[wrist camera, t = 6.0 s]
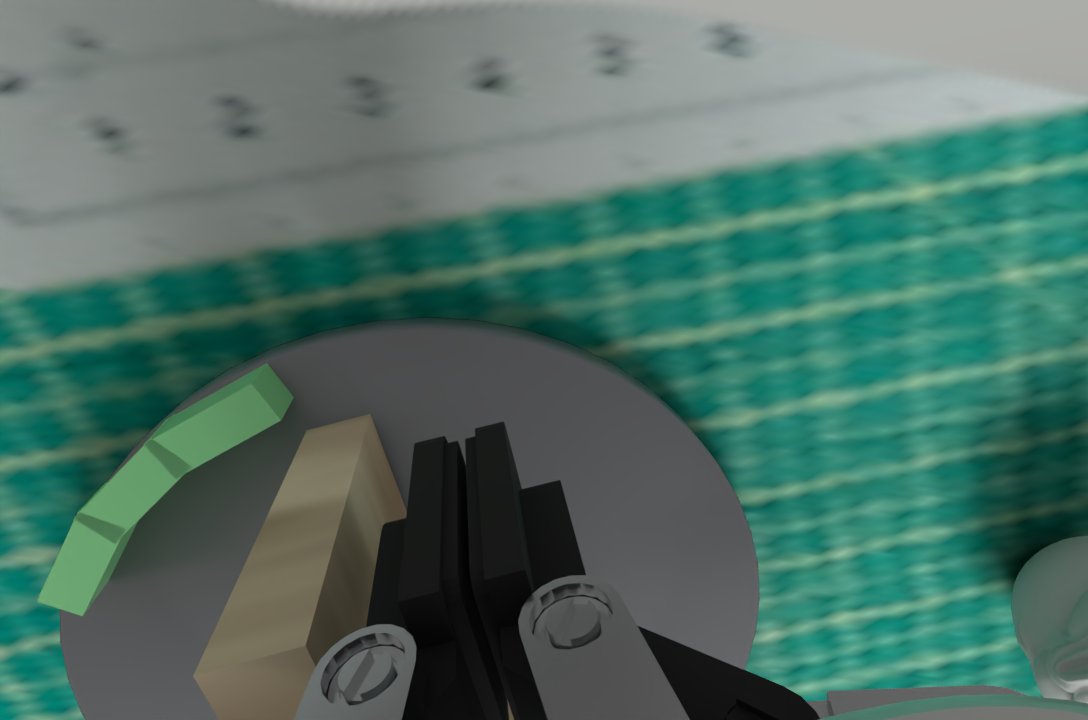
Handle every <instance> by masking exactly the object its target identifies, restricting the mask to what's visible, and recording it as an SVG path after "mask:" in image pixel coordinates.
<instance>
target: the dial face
mask: <svg viewBox="0 0 1088 720" xmlns="http://www.w3.org/2000/svg"><path fill="white" fill-rule="evenodd" d="M367 414H371V417H372V419H373V422H374V425H375V428H376V430H377V433H378V436H379V438H380V441H381V444H382V446H383V449H384V452H385V454H386V457H387V460H388V463H389V465H390V468H391V471H392V473H393V476H394V479H395V481H396V484H397V487H398V489H399V492H400V495H401V498H402V500H403V503H404V506H405V508H406V511H407V505H408V496H409V487H410V478H411V468H412V459H413V450H414V444H415V443H417V442H421V441H425V440H429V439H433V438H438V437H442V436H445V437H446V439H447V441H448V443H450V442H454V441H458V442H459V445H460V448H461V451H462V454H463V458H464V461H465V464H466V453H465V439H466V438H470V437H474V436H475V428H478V427H483V426H487V425H491V424H495V423H499V422H503V421H504V423H505V426H506V430H507V434H508V438H509V441H510V445H511V449H512V453H513V457H514V461H515V464H516V468H517V472H518V476H519V480H520V483H521V487H522V489H525V488H529V487H533V486H537V485H541V484H545V483H549V482H553V481H557V480H560V481H561V484H562V488H563V492H564V495H565V499H566V503H567V506H568V510H569V514H570V517H571V521H572V525H573V528H574V532H575V536H576V539H577V543H578V547H579V550H580V554H581V558H582V562H583V565H584V569H585V573H586V576H591V577H595V578H599V579H601V580H603V581H605V582H607V583H608V584H610V585H612V586H613V587H614V589H615V590H616V591H617V592H618V593H619V595H620V596H621V598H622V599H623V601H624V603H625V605H626V607H627V608H628V610H629V612H630V614H631V616H632V617H633V619H634V621H635V623H636V624H637V626H640V627H642V628H644V629H647V630H649V631H652V632H654V633H656V634H659V635H661V636H664V637H666V638H668V639H671V640H673V641H676V642H678V643H680V644H683V645H685V646H688V647H690V648H692V649H695V650H697V651H700V652H702V653H704V654H707V655H709V656H712V657H714V658H716V659H719V660H721V661H724V662H726V663H728V664H731V665H733V666H736V667H738V668H740V669H743V670H744V669H745V667H746V664H747V661H748V658H749V654H750V650H751V647H752V643H753V639H754V636H755V632H756V624H757V615H758V607H759V577H758V562H757V558H756V553H755V548H754V543H753V539H752V534H751V530H750V527H749V525H748V522H747V520H746V517H745V515H744V512H743V509H742V507H741V504H740V502H739V499H738V497H737V495H736V493H735V492H734V490H733V488H732V487H731V485H730V483H729V482H728V480H727V478H726V477H725V475H724V473H723V472H722V470H721V468H720V467H719V465H718V463H717V462H716V461H715V459H714V458H713V457H712V455H711V454H710V453H709V451H708V450H707V448H706V447H705V446H704V444H703V443H702V442H701V441H700V439H699V438H698V437H697V436H696V435H695V433H694V432H693V431H692V430H691V429H690V427H689V426H688V425H687V424H686V423H685V421H684V420H683V419H682V418H681V417H680V415H679V414H678V413H677V412H676V411H675V410H673V409H672V408H671V407H670V406H669V405H668V404H667V403H665V402H664V401H663V400H662V399H661V398H660V397H659V396H658V395H656V394H655V393H654V392H653V391H652V390H651V389H650V388H649V387H647V386H646V385H644V384H643V383H641V382H640V381H638V380H637V379H635V378H634V377H632V376H631V375H629V374H628V373H626V372H624V371H623V370H621V369H620V368H618V367H617V366H615V365H614V364H612V363H610V362H608V361H606V360H604V359H602V358H600V357H598V356H596V355H593V354H591V353H589V352H587V351H585V350H583V349H581V348H579V347H577V346H574V345H572V344H570V343H567V342H564V341H560V340H557V339H554V338H551V337H548V336H545V335H542V334H539V333H536V332H533V331H529V330H526V329H521V328H516V327H510V326H505V325H499V324H494V323H489V322H483V321H478V320H461V319H444V318H411V319H396V320H380V321H372V322H367V323H361V324H356V325H351V326H346V327H341V328H335V329H330V330H325V331H322V332H319V333H316V334H312V335H309V336H306V337H303V338H300V339H297V340H294V341H291V342H288V343H285V344H282V345H279V346H276V347H274V348H272V349H269V350H267V351H265V352H263V353H261V354H259V355H257V356H255V357H253V358H251V359H249V360H246V361H244V362H242V363H240V364H238V365H236V366H234V367H232V368H230V369H228V370H227V371H225V372H224V373H222V374H221V375H219V376H218V377H216V378H215V379H213V380H212V381H210V382H209V383H207V384H206V385H204V386H203V387H201V388H200V389H198V390H196V391H195V392H193V393H192V394H190V395H189V396H188V397H187V398H186V399H185V400H184V401H182V402H181V403H180V404H179V405H178V406H177V407H176V408H175V409H173V410H172V411H171V412H170V413H169V414H168V415H167V416H166V417H164V418H163V419H162V420H161V421H160V422H159V423H158V424H157V425H155V427H154V428H153V429H152V430H151V431H150V432H149V433H148V434H147V435H146V436H145V437H144V438H143V439H142V440H141V441H140V442H139V443H138V445H137V446H136V447H135V448H134V449H133V450H132V451H131V452H130V454H129V455H128V456H127V457H126V458H125V460H124V461H123V462H122V463H121V464H120V466H119V467H118V468H117V469H116V470H115V472H114V473H113V474H112V475H111V477H110V478H109V479H108V480H107V481H106V482H105V483H104V484H103V486H102V487H101V488H100V489H99V490H98V491H97V492H96V493H95V494H94V495H93V496H92V497H91V498H90V499H89V501H88V502H87V503H86V504H85V505H84V506H83V507H82V508H81V509H80V510H79V511H78V513H77V515H76V516H75V517H74V518H73V519H75V520H74V522H73V524H72V526H71V528H70V530H69V533H68V535H67V537H66V539H65V541H64V543H63V545H62V548H61V550H60V552H59V554H58V556H57V558H56V561H55V563H54V565H53V567H52V569H51V571H50V573H49V576H48V578H47V580H46V582H45V584H44V586H43V588H42V591H41V593H40V595H39V597H38V599H37V602H40V603H43V604H46V605H49V606H52V607H55V608H58V609H60V642H61V647H62V652H63V657H64V661H65V666H66V671H67V676H68V680H69V682H70V685H71V688H72V690H73V693H74V695H75V698H76V700H77V703H78V705H79V708H80V710H81V713H82V715H83V716H84V718H85V720H219V719H218V717H217V716H216V714H215V712H214V710H213V709H212V707H211V705H210V704H209V702H208V700H207V699H206V697H205V695H204V694H203V692H202V690H201V689H200V687H199V685H198V684H197V682H196V680H195V679H194V677H193V675H194V673H195V671H196V669H197V667H198V664H199V662H200V660H201V658H202V656H203V654H204V651H205V649H206V647H207V645H208V643H209V641H210V639H211V636H212V634H213V632H214V630H215V628H216V626H217V623H218V621H219V619H220V617H221V615H222V613H223V610H224V608H225V606H226V604H227V602H228V600H229V597H230V595H231V593H232V591H233V589H234V587H235V584H236V582H237V580H238V578H239V576H240V574H241V571H242V569H243V567H244V565H245V563H246V561H247V558H248V556H249V554H250V552H251V550H252V548H253V545H254V543H255V541H256V539H257V537H258V535H259V533H260V530H261V528H262V526H263V524H264V522H265V520H266V517H267V515H268V513H269V511H270V509H271V507H272V504H273V502H274V500H275V498H276V496H277V494H278V491H279V489H280V487H281V485H282V483H283V481H284V478H285V476H286V474H287V472H288V470H289V468H290V465H291V463H292V461H293V459H294V457H295V455H296V452H297V450H298V448H299V446H300V444H301V442H302V439H303V437H304V435H305V433H306V431H307V430H310V429H314V428H317V427H321V426H325V425H329V424H333V423H337V422H341V421H344V420H348V419H352V418H356V417H360V416H364V415H367Z"/></svg>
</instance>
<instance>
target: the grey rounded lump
mask: <svg viewBox="0 0 1088 720" xmlns="http://www.w3.org/2000/svg"><path fill="white" fill-rule="evenodd" d="M1011 609H1012V616H1013V622H1014V625H1015V632H1016V637H1017V641H1018V643H1019V645H1020V646H1021V648H1022V650H1023V651H1024V653H1025V655H1026V656H1027V658H1028V659H1029V661H1030V666H1031V670H1032V671H1033V673H1034V678H1035V681H1036V684H1037V687H1038V688H1039V690H1040V692H1041V694H1042V696H1043V698H1053V699H1063V700H1072V701H1077V702H1082V703H1088V536H1078V537H1072V538H1067V539H1064V540H1061V541H1058V542H1056V543H1053V544H1051V545H1049V546H1047V547H1045V548H1043V549H1041V550H1040V551H1039V552H1037V553H1036V554H1035V555H1033V556H1032V557H1031V558H1030V559H1029V560H1028V561H1027V562H1026V563H1025V565H1024V566H1023V568H1022V569H1021V570H1020V572H1019V574H1018V576H1017V578H1016V580H1015V583H1014V587H1013V591H1012V598H1011Z"/></svg>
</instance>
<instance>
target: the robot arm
mask: <svg viewBox="0 0 1088 720" xmlns="http://www.w3.org/2000/svg"><path fill="white" fill-rule="evenodd" d="M465 453H466V464H465V461H464V458H463V454H462V451H461V448H460V445H459V442H458V441H454V442H450V443H448V441H447V439H446V437H445V436H442V437H438V438H433V439H429V440H425V441H421V442H417V443H415V444H414V450H413V459H412V468H411V478H410V487H409V496H408V505H407V515H406V518H404V519H400V520H396V521H392V522H388V523H385V524H384V525H383V527H382V530H381V536H380V542H379V548H378V555H377V561H376V567H375V573H374V579H373V586H372V592H371V598H370V604H369V611H368V617H367V623H366V627H365V628H362V629H359V630H357V631H355V632H353V633H351V634H349V635H347V636H346V637H344V638H343V639H342V640H340V641H339V642H338V643H336V644H335V645H334V646H332V647H331V648H330V649H329V650H328V652H327V653H326V654H325V655H324V656H323V657H322V658H321V659H320V661H319V663H318V664H317V666H316V668H315V670H314V671H313V673H312V675H311V678H310V680H309V683H308V685H307V688H306V690H305V693H304V695H303V698H302V700H301V703H300V705H299V708H298V710H297V713H296V715H295V718H294V720H509V711H508V703H509V706H510V709H511V712H512V715H513V718H514V720H1088V703H1082V702H1077V701H1072V700H1063V699H1053V698H1043V697H1032V696H1027V695H1025V694H1022V693H1019V692H1017V691H1014V690H1011V689H1009V688H1004V687H995V686H986V685H975V686H949V687H923V688H897V689H871V690H845V691H827V701H805V700H804V699H803V698H802V697H801V696H799V695H797V694H796V693H794V692H792V691H790V690H789V689H787V688H785V687H783V686H781V685H779V684H776V683H774V682H772V681H769V680H767V679H764V678H762V677H760V676H757V675H755V674H752V673H750V672H748V671H745V670H743V669H740V668H738V667H736V666H733V665H731V664H728V663H726V662H724V661H721V660H719V659H716V658H714V657H712V656H709V655H707V654H704V653H702V652H700V651H697V650H695V649H692V648H690V647H688V646H685V645H683V644H680V643H678V642H676V641H673V640H671V639H668V638H666V637H664V636H661V635H659V634H656V633H654V632H652V631H649V630H647V629H644V628H642V627H640V626H637V624H636V623H635V621H634V619H633V617H632V616H631V614H630V612H629V610H628V608H627V607H626V605H625V603H624V601H623V599H622V598H621V596H620V595H619V593H618V592H617V591H616V590H615V589H614V587H613V586H612V585H610V584H608V583H607V582H605V581H603V580H601V579H599V578H595V577H591V576H586V573H585V569H584V565H583V562H582V558H581V554H580V550H579V547H578V543H577V539H576V536H575V532H574V528H573V525H572V521H571V517H570V514H569V510H568V506H567V503H566V499H565V495H564V492H563V488H562V484H561V481H560V480H557V481H553V482H549V483H545V484H541V485H537V486H533V487H529V488H525V489H522V487H521V483H520V480H519V476H518V472H517V468H516V464H515V461H514V457H513V453H512V449H511V445H510V441H509V438H508V434H507V430H506V426H505V423H504V421H503V422H499V423H495V424H491V425H487V426H483V427H478V428H475V436H474V437H470V438H466V439H465Z"/></svg>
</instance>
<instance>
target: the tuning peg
mask: <svg viewBox="0 0 1088 720" xmlns="http://www.w3.org/2000/svg"><path fill="white" fill-rule="evenodd" d="M406 515H407V511H406V508H405V506H404V503H403V500H402V498H401V495H400V492H399V489H398V487H397V484H396V481H395V479H394V476H393V473H392V471H391V468H390V465H389V463H388V460H387V457H386V454H385V452H384V449H383V446H382V444H381V441H380V438H379V436H378V433H377V430H376V428H375V425H374V422H373V419H372V417H371V414H367V415H364V416H360V417H356V418H352V419H348V420H344V421H341V422H337V423H333V424H329V425H325V426H321V427H317V428H314V429H310V430H307V431H306V433H305V435H304V437H303V439H302V442H301V444H300V446H299V448H298V450H297V452H296V455H295V457H294V459H293V461H292V463H291V465H290V468H289V470H288V472H287V474H286V476H285V478H284V481H283V483H282V485H281V487H280V489H279V491H278V494H277V496H276V498H275V500H274V502H273V504H272V507H271V509H270V511H269V513H268V515H267V517H266V520H265V522H264V524H263V526H262V528H261V530H260V533H259V535H258V537H257V539H256V541H255V543H254V545H253V548H252V550H251V552H250V554H249V556H248V558H247V561H246V563H245V565H244V567H243V569H242V571H241V574H240V576H239V578H238V580H237V582H236V584H235V587H234V589H233V591H232V593H231V595H230V597H229V600H228V602H227V604H226V606H225V608H224V610H223V613H222V615H221V617H220V619H219V621H218V623H217V626H216V628H215V630H214V632H213V634H212V636H211V639H210V641H209V643H208V645H207V647H206V649H205V651H204V654H203V656H202V658H201V660H200V662H199V664H198V667H197V669H196V671H195V673H194V675H193V677H194V679H195V680H196V682H197V684H198V685H199V687H200V689H201V690H202V692H203V694H204V695H205V697H206V699H207V700H208V702H209V704H210V705H211V707H212V709H213V710H214V712H215V714H216V716H217V717H218V719H219V720H294V718H295V715H296V713H297V710H298V708H299V705H300V703H301V700H302V698H303V695H304V693H305V690H306V688H307V685H308V683H309V680H310V678H311V675H312V673H313V671H314V670H315V668H316V666H317V664H318V663H319V661H320V659H321V658H322V657H323V656H324V655H325V654H326V653H327V652H328V650H329V649H330V648H331V647H332V646H334V645H335V644H336V643H338V642H339V641H340V640H342V639H343V638H344V637H346V636H347V635H349V634H351V633H353V632H355V631H357V630H359V629H362V628H365V627H366V623H367V617H368V611H369V604H370V598H371V592H372V586H373V579H374V573H375V567H376V561H377V555H378V548H379V542H380V536H381V530H382V527H383V525H384V524H385V523H388V522H392V521H396V520H400V519H404V518H406ZM508 711H509V720H514V718H513V715H512V712H511V709H510V706H509V703H508Z"/></svg>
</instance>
